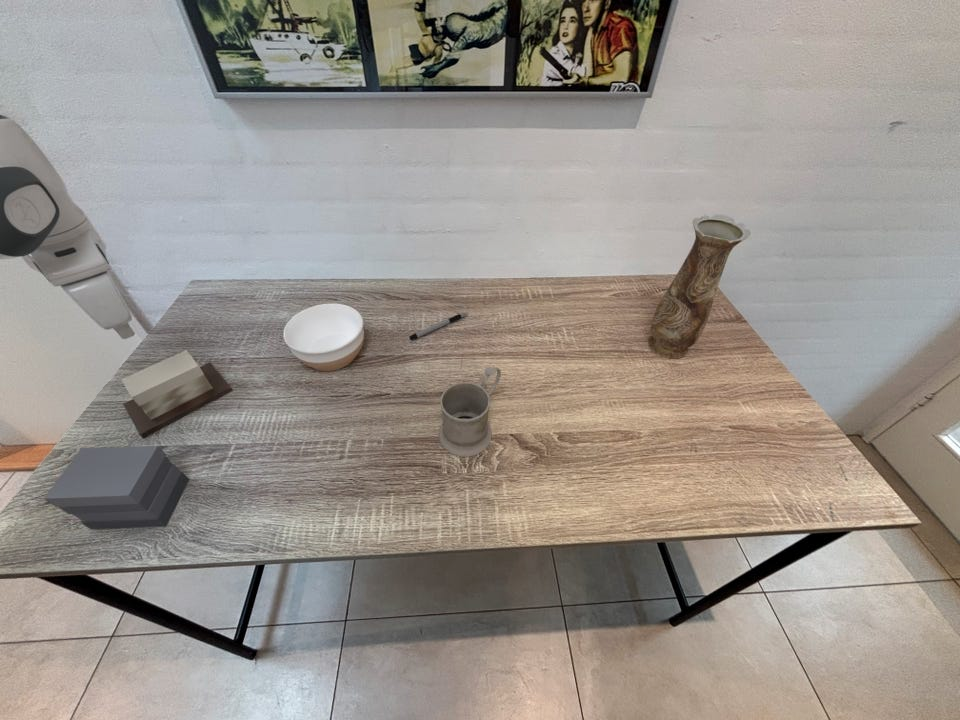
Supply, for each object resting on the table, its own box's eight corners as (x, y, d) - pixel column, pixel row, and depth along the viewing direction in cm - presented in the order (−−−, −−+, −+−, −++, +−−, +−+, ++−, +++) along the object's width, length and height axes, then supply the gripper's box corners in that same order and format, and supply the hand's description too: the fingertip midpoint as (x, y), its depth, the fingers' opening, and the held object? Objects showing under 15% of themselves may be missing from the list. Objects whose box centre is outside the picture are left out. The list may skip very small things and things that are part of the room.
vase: (700, 354, 93) (768, 232, 72) (665, 367, 90) (725, 244, 69) (667, 327, 100) (721, 208, 79) (633, 338, 97) (680, 218, 76)
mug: (467, 466, 71) (467, 425, 63) (427, 435, 76) (423, 393, 67) (516, 417, 79) (523, 375, 71) (478, 391, 84) (480, 349, 75)
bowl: (384, 351, 91) (378, 323, 86) (323, 392, 82) (313, 364, 77) (339, 321, 98) (332, 294, 93) (279, 356, 89) (267, 328, 84)
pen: (409, 338, 95) (408, 334, 94) (466, 313, 102) (466, 309, 101) (411, 342, 94) (411, 337, 93) (469, 315, 101) (469, 311, 100)
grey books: (90, 529, 62) (43, 498, 55) (120, 481, 68) (80, 448, 61) (166, 526, 63) (128, 495, 56) (189, 479, 68) (158, 445, 61)
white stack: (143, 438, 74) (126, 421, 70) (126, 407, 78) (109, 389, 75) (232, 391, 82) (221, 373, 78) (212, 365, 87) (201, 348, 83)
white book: (139, 406, 72) (131, 397, 71) (129, 388, 75) (121, 379, 73) (204, 374, 78) (198, 365, 76) (192, 359, 81) (186, 349, 79)
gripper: (18, 226, 60) (79, 302, 70) (48, 282, 50) (114, 362, 60) (70, 213, 63) (122, 287, 73) (108, 263, 54) (162, 342, 63)
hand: (119, 321), depth 66 cm, fingers open, 8 cm apart
